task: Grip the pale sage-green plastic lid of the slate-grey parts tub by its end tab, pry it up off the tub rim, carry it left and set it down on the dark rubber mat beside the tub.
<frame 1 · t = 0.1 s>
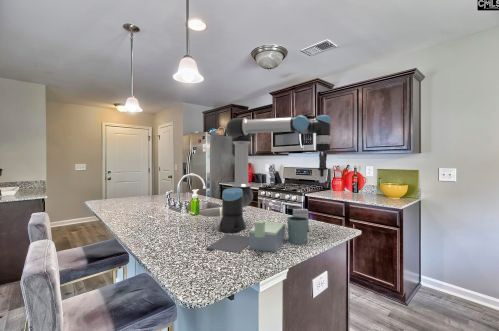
hand: (322, 181, 139), 28 cm above the counter, fingers open, 13 cm apart
teal cup: (297, 243, 120), on the counter
ink box: (300, 230, 143), on the counter
dowel a: (270, 241, 119), point 1 cm above the counter, touching tub
tub: (268, 245, 116), on the counter
mat: (233, 244, 118), on the counter
lid: (268, 228, 116), point 8 cm above the counter, touching tub
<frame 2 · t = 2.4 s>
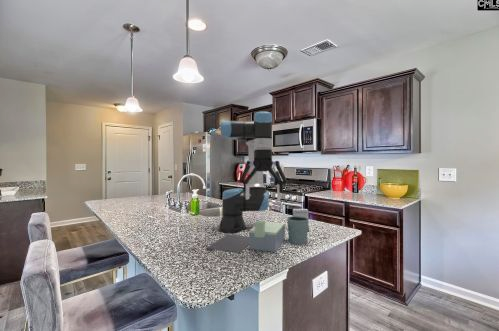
hand: (262, 199, 105), 23 cm above the counter, fingers open, 13 cm apart
nothing on the counter moved.
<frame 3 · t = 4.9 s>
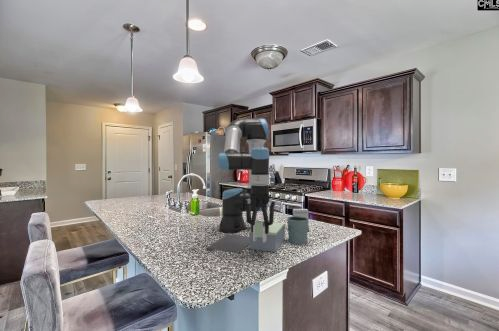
hand: (259, 240, 104), 6 cm above the counter, fingers closed on lid, 3 cm apart
lid: (268, 228, 116), point 8 cm above the counter, touching gripper, tub
everything else where it was.
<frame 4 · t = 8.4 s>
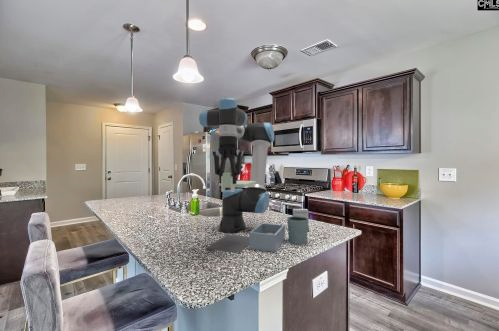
hand: (227, 191, 105), 26 cm above the counter, fingers closed on lid, 3 cm apart
lid: (238, 184, 117), point 28 cm above the counter, touching gripper
everything else where it was.
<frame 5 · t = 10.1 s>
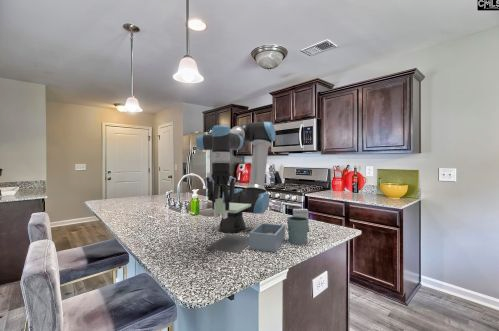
hand: (220, 217, 105), 15 cm above the counter, fingers closed on lid, 3 cm apart
lid: (232, 208, 117), point 17 cm above the counter, touching gripper
everything else where it was.
when the fingers open (2 cm above the counter, at t = 11.8 s): lid drops 2 cm, resting on mat.
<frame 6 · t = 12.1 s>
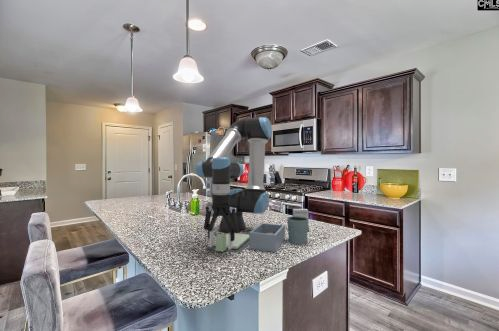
hand: (221, 247, 106), 3 cm above the counter, fingers open, 8 cm apart
lid: (232, 241, 117), point 2 cm above the counter, touching mat
everything else where it was.
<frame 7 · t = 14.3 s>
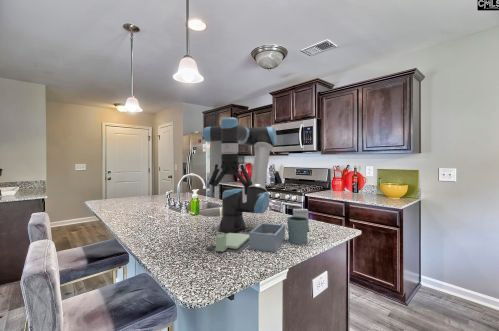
hand: (230, 201, 111), 21 cm above the counter, fingers open, 13 cm apart
nothing on the counter moved.
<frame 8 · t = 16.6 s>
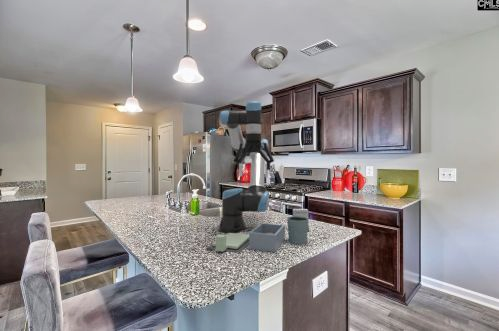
hand: (253, 176, 123), 32 cm above the counter, fingers open, 13 cm apart
nothing on the counter moved.
at the end: lid inside the target area (0.9 cm from its centre), point 1.6 cm above the counter; lid touching mat; lid tilted 0° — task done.
